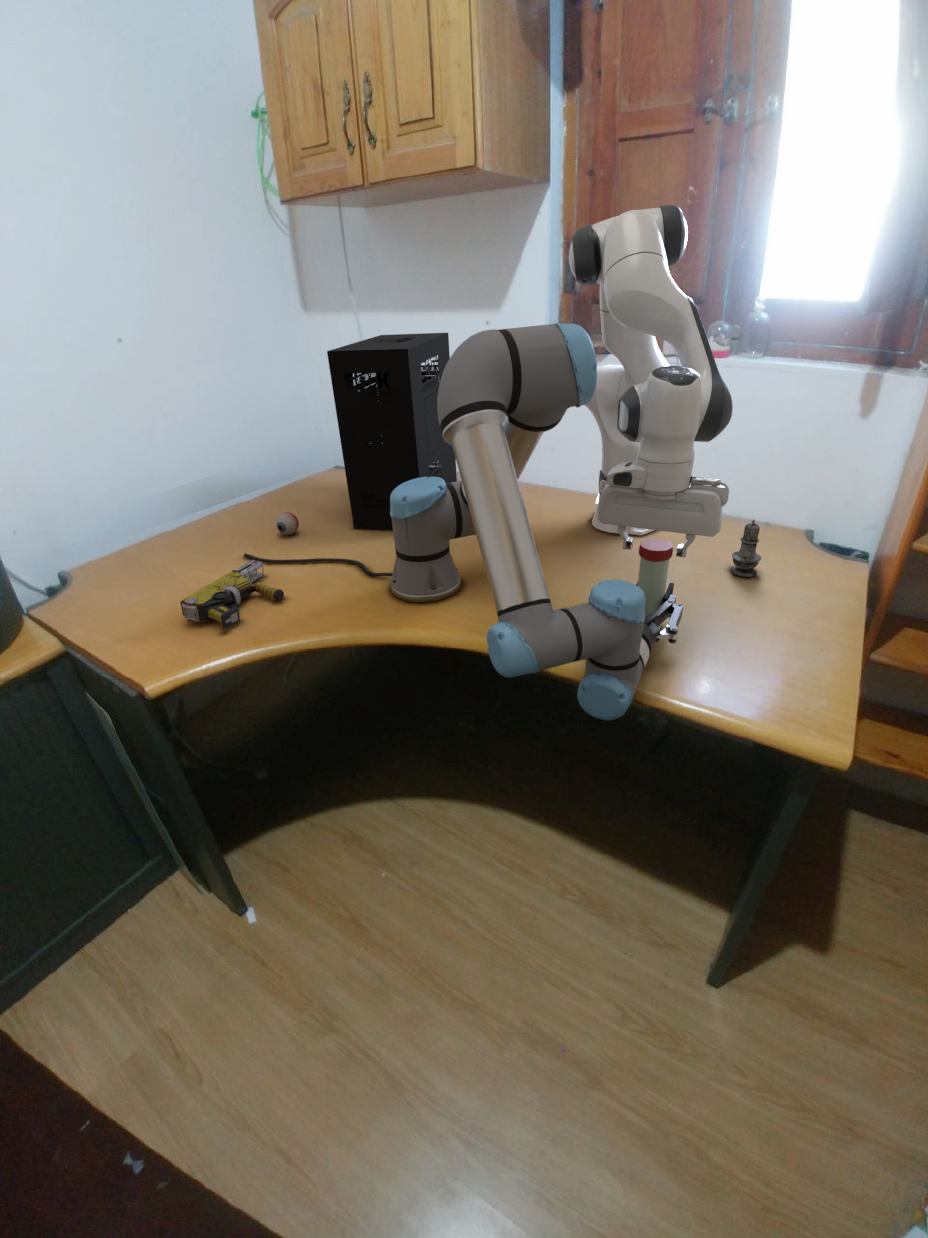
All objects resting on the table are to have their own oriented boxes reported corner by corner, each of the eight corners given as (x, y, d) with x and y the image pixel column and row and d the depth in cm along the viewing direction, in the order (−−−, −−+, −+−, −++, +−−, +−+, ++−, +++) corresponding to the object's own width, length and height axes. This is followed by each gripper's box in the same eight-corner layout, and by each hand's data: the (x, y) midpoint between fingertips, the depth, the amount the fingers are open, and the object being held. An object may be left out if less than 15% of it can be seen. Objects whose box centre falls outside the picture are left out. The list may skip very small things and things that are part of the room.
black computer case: (424, 530, 162) (407, 348, 139) (353, 528, 166) (326, 351, 144) (457, 486, 193) (448, 332, 171) (397, 485, 198) (380, 334, 175)
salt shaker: (760, 577, 128) (772, 524, 122) (731, 576, 130) (741, 524, 124) (755, 566, 133) (766, 514, 127) (726, 565, 135) (736, 514, 129)
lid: (679, 556, 105) (680, 546, 104) (654, 564, 103) (655, 553, 102) (655, 546, 109) (657, 535, 108) (631, 553, 107) (632, 542, 106)
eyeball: (273, 537, 164) (268, 516, 161) (287, 528, 169) (282, 508, 166) (291, 539, 161) (286, 518, 158) (305, 530, 166) (301, 510, 163)
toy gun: (305, 569, 137) (249, 557, 141) (237, 616, 117) (174, 600, 121) (306, 587, 139) (251, 575, 143) (240, 636, 119) (178, 621, 123)
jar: (665, 630, 113) (676, 548, 104) (645, 637, 111) (655, 554, 103) (647, 619, 117) (656, 539, 108) (627, 626, 115) (635, 545, 106)
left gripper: (571, 656, 102) (607, 596, 120) (681, 680, 95) (702, 612, 113) (573, 618, 99) (610, 562, 116) (687, 640, 91) (708, 576, 109)
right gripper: (733, 474, 97) (719, 553, 104) (607, 464, 105) (602, 538, 112) (729, 486, 92) (714, 568, 99) (597, 474, 101) (592, 550, 107)
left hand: (655, 587), depth 115 cm, fingers closed on jar, 5 cm apart
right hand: (653, 552), depth 106 cm, fingers open, 8 cm apart
